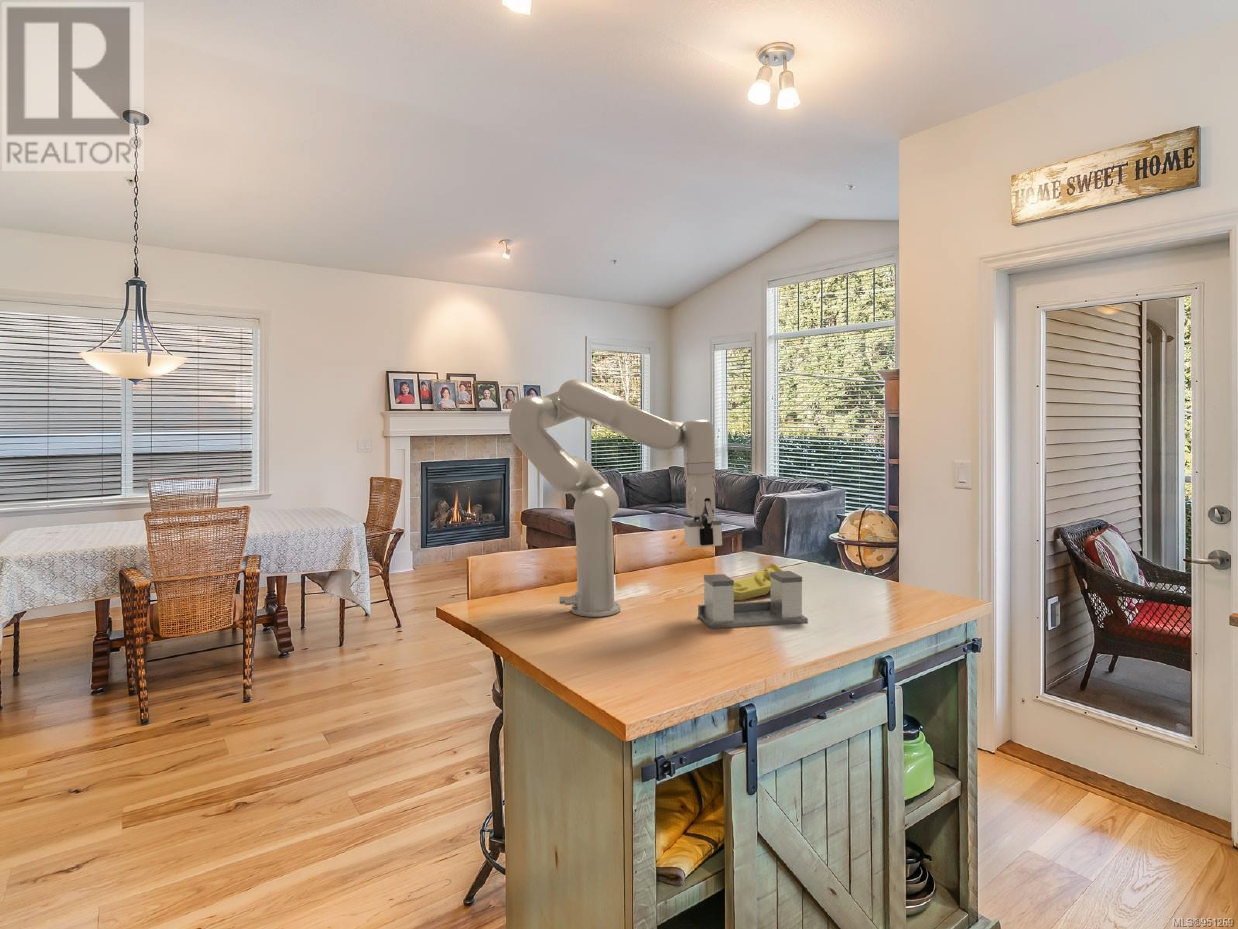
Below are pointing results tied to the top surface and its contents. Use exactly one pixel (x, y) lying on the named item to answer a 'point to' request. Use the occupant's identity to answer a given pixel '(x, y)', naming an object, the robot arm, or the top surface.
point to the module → (693, 533)
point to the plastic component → (754, 584)
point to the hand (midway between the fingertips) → (703, 542)
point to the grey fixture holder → (752, 603)
